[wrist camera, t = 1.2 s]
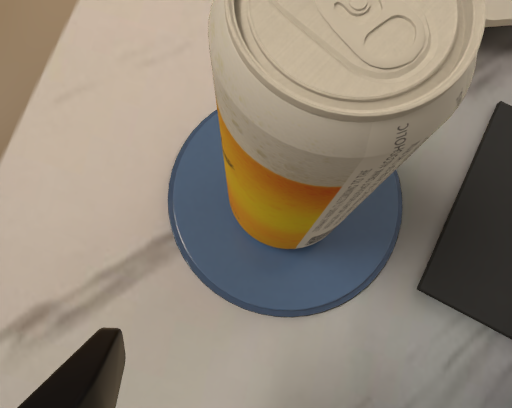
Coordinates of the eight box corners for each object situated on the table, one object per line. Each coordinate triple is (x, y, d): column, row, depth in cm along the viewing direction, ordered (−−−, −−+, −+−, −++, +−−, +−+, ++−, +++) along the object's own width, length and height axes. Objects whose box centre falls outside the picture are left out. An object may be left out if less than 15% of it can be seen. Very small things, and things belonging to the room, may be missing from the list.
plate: (381, 343, 22) (384, 343, 22) (139, 284, 23) (136, 283, 22) (416, 118, 25) (419, 114, 25) (202, 70, 26) (201, 65, 25)
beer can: (293, 120, 24) (365, -168, 10) (367, 203, 23) (568, 18, 9) (205, 185, 23) (142, -29, 9) (278, 275, 22) (343, 201, 8)
